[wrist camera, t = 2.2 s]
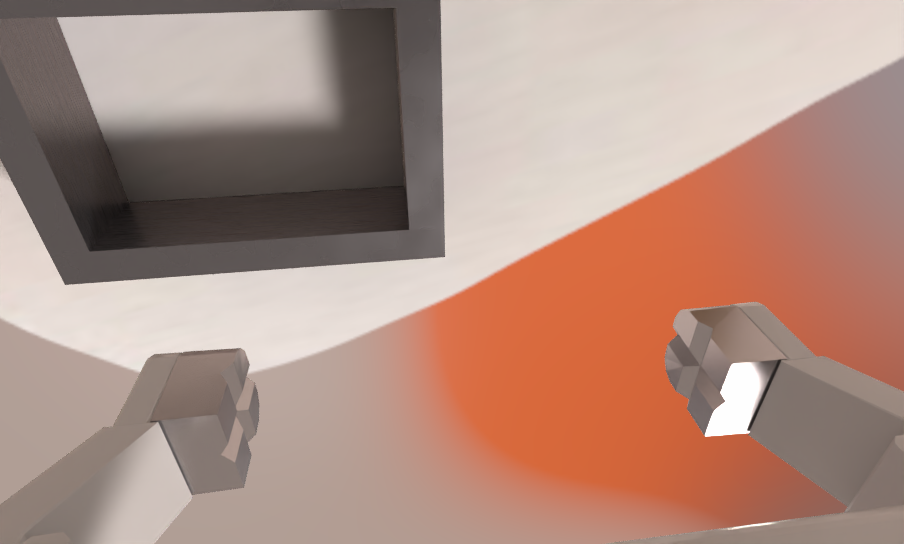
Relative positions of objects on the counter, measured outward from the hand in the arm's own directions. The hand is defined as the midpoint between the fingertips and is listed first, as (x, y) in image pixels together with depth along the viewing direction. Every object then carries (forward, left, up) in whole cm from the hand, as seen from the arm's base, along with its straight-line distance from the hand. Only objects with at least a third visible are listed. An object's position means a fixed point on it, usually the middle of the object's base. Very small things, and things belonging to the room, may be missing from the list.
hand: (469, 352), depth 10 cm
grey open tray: (0, -7, -15) cm, 17 cm away
